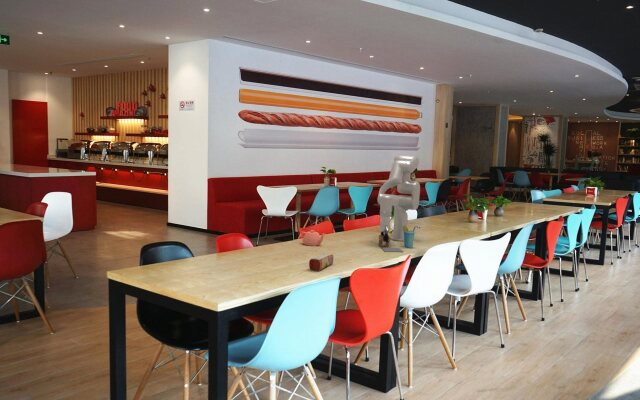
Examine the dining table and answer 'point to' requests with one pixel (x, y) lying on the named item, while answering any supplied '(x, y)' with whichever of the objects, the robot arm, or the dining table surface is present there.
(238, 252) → the dining table surface
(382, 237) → the brown box with pegs
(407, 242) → the cup
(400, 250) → the mat
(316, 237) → the teapot
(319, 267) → the snack package
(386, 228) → the robot arm
